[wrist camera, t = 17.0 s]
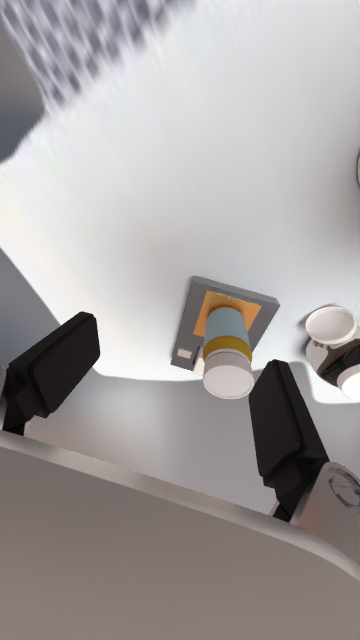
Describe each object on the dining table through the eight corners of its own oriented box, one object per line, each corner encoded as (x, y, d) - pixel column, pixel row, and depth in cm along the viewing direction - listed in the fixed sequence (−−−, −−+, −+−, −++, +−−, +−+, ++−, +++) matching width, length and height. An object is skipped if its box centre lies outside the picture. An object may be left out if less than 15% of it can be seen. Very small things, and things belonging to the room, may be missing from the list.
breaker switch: (221, 348, 42) (222, 364, 37) (215, 363, 44) (214, 379, 40) (201, 342, 42) (198, 357, 38) (195, 357, 45) (192, 372, 40)
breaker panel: (275, 298, 34) (281, 307, 31) (233, 374, 46) (233, 386, 43) (194, 275, 35) (191, 282, 32) (172, 356, 47) (169, 366, 44)
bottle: (199, 323, 36) (189, 383, 24) (221, 297, 33) (222, 352, 20) (227, 341, 37) (231, 408, 25) (252, 317, 34) (271, 382, 21)
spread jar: (327, 362, 39) (362, 412, 30) (280, 342, 39) (300, 386, 29) (378, 320, 33) (445, 366, 23) (322, 295, 33) (366, 332, 23)
